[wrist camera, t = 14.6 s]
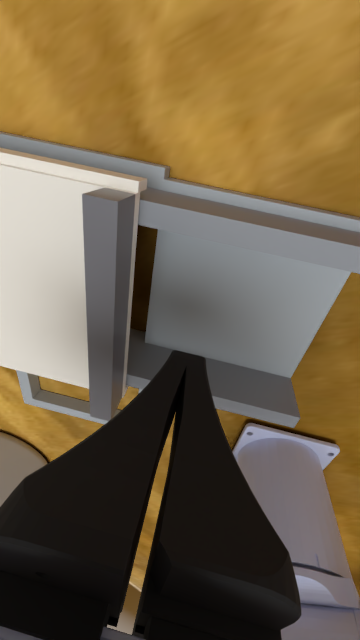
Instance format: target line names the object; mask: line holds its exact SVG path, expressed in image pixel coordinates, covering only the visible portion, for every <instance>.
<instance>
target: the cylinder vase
mask: <svg viewBox="0 0 360 640" xmlns="http://www.w3.org/2000/svg"><path fill="white" fill-rule="evenodd" d="M46 464H48V463H47V461H46V460H45V459H44V457H43V456H42V455H41V454H40V453H39V452H38V451H36V450H35V449H34V448H32V447H31V446H30V445H28V444H27V443H25V442H23V441H21V440H19V439H17V438H15V437H13V436H11V435H8V434H5V433H2V432H0V507H1V505H2V504H3V503H4V501H5V500H6V499H7V498H8V497H9V495H10V494H11V493H12V492H13V490H14V489H15V488H16V487H17V486H18V485H19V483H20V482H21V481H22V480H23V479H24V478H25V477H26V476H28V475H30V474H31V473H33V472H35V471H36V470H38V469H40V468H41V467H43V466H45V465H46Z"/></svg>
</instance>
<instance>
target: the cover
mask: <svg viewBox="0 0 360 640" xmlns="http://www.w3.org/2000/svg"><path fill="white" fill-rule="evenodd" d="M146 189H147V178H142V177H137V176H132V175H128V174H123V173H118V172H113V171H109V170H104V169H99V168H95V167H90V166H85V165H80V164H76V163H71V162H66V161H61V160H57V159H52V158H47V157H42V156H38V155H33V154H28V153H23V152H19V151H14V150H9V149H5V148H0V366H3V367H7V368H11V369H14V370H18V371H22V372H26V373H30V374H34V375H38V376H42V377H46V378H49V379H53V380H57V381H61V382H65V383H69V384H73V385H77V386H81V387H84V388H88V389H89V396H90V416H91V417H94V418H98V419H102V420H106V421H110V420H111V419H112V418H113V416H114V413H115V411H116V409H117V407H118V405H119V403H120V400H121V398H122V397H124V395H125V393H126V391H127V388H128V386H127V385H126V374H127V361H128V348H129V335H130V321H131V308H132V295H133V281H134V268H135V255H136V242H137V228H138V215H139V202H140V192H141V191H144V190H146Z"/></svg>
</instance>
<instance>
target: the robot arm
mask: <svg viewBox="0 0 360 640" xmlns="http://www.w3.org/2000/svg"><path fill="white" fill-rule="evenodd" d="M175 412H176V415H175ZM174 415H175V423H174V430H173V438H172V445H171V453H170V460H169V467H168V473H167V478H166V482H165V487H164V492H163V496H162V501H161V505H160V510H159V515H158V519H157V524H156V528H155V533H154V537H153V542H152V546H151V551H150V556H149V560H148V565H147V569H146V574H145V578H144V583H143V587H142V592H141V597H140V601H139V605H138V610H137V614H136V619H135V623H134V628H133V633H132V635H130V634H127V633H123V632H120V631H117V630H114V629H111V628H107V624H108V625H111V626H115V627H117V623H118V619H119V615H120V613H121V612H122V609H123V605H124V601H125V596H126V592H127V588H128V584H129V580H130V576H131V572H132V568H133V563H134V559H135V555H136V551H137V547H138V543H139V539H140V535H141V531H142V527H143V522H144V518H145V514H146V510H147V506H148V502H149V498H150V494H151V490H152V486H153V482H154V478H155V474H156V470H157V467H158V463H159V460H160V457H161V454H162V451H163V448H164V445H165V442H166V439H167V436H168V433H169V430H170V427H171V424H172V421H173V418H174ZM339 452H340V449H339V446H338V445H336V444H332V443H329V442H325V441H321V440H317V439H313V438H309V437H305V436H301V435H297V434H293V433H289V432H285V431H282V430H278V429H274V428H270V427H266V426H262V425H258V424H254V423H248V424H246V425H245V427H244V429H243V431H242V433H241V435H240V437H239V439H238V441H237V443H236V445H235V447H234V449H233V451H232V450H231V448H230V446H229V443H228V441H227V439H226V436H225V434H224V431H223V429H222V426H221V423H220V420H219V417H218V414H217V411H216V408H215V405H214V401H213V397H212V394H211V390H210V386H209V381H208V376H207V369H206V359H205V358H204V357H203V356H199V355H194V354H190V353H186V352H182V351H178V350H174V351H172V352H171V354H170V356H169V358H168V359H167V361H166V362H165V364H164V365H163V366H162V368H161V369H160V370H159V372H158V373H157V374H156V375H155V376H154V378H153V379H152V380H151V381H150V382H149V384H148V385H147V386H146V387H145V388H144V389H143V390H142V391H141V392H140V393H139V394H138V395H137V396H136V397H135V398H134V399H133V400H132V401H131V402H130V403H129V404H128V405H127V406H126V407H125V408H124V409H123V410H121V411H120V412H119V413H118V414H117V415H116V416H115V417H113V418H112V419H111V420H110V421H108V422H107V423H106V424H105V425H103V426H102V427H101V428H100V429H98V430H97V431H96V432H94V433H93V434H92V435H90V436H89V437H87V438H86V439H85V440H83V441H82V442H80V443H79V444H77V445H76V446H74V447H73V448H72V449H70V450H69V451H67V452H66V453H64V454H63V455H61V456H60V457H58V458H56V459H55V460H53V461H51V462H50V463H48V464H46V465H45V466H43V467H41V468H40V469H38V470H36V471H35V472H33V473H31V474H30V475H28V476H26V477H25V478H24V479H23V480H22V481H21V482H20V483H19V485H18V486H17V487H16V488H15V489H14V490H13V492H12V493H11V494H10V495H9V497H8V498H7V499H6V500H5V501H4V503H3V504H2V505H1V507H0V640H360V598H359V595H358V593H357V590H356V587H355V584H354V582H353V580H352V576H351V572H350V569H349V565H348V561H347V558H346V554H345V550H344V547H343V543H342V540H341V536H340V532H339V529H338V525H337V521H336V518H335V514H334V510H333V507H332V503H331V500H330V496H329V492H328V489H327V485H326V481H325V478H324V474H323V470H324V468H325V467H326V466H327V465H328V464H329V463H330V462H331V461H332V460H333V459H334V458H335V457H336V455H337V454H338V453H339Z"/></svg>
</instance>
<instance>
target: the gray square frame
mask: <svg viewBox="0 0 360 640" xmlns="http://www.w3.org/2000/svg"><path fill="white" fill-rule="evenodd" d="M0 148H5V149H9V150H14V151H19V152H23V153H28V154H33V155H38V156H42V157H47V158H52V159H57V160H61V161H66V162H71V163H76V164H80V165H85V166H90V167H95V168H99V169H104V170H109V171H113V172H118V173H123V174H128V175H132V176H137V177H142V178H147V189H146V190H144V191H141V192H140V202H139V215H138V225H141V226H145V227H150V228H155V229H158V233H157V242H156V250H155V259H154V267H153V276H152V284H151V293H150V301H149V310H148V318H147V327H146V332H143V331H139V330H135V329H131V328H130V335H129V348H128V361H127V374H126V385H127V386H131V387H134V388H138V389H139V393H140V392H141V391H142V390H143V389H144V388H145V387H146V386H147V385H148V384H149V382H150V381H151V380H152V379H153V378H154V376H155V375H156V374H157V373H158V372H159V370H160V369H161V368H162V366H163V365H164V364H165V362H166V361H167V359H168V358H169V356H170V354H171V352H172V351H174V350H178V351H182V352H186V353H190V354H194V355H199V356H203V357H204V358H205V359H206V369H207V376H208V381H209V386H210V390H211V394H212V397H213V401H214V405H215V408H217V409H221V410H225V411H229V412H233V413H237V414H241V415H245V416H248V417H252V418H256V419H260V420H264V421H268V422H272V423H276V424H280V425H284V426H288V427H292V428H294V427H295V425H296V424H297V422H298V421H299V419H300V414H299V410H298V406H297V402H296V398H295V394H294V390H293V386H292V382H291V377H292V375H293V373H294V371H295V370H296V368H297V366H298V364H299V362H300V361H301V359H302V357H303V355H304V354H305V352H306V350H307V348H308V347H309V345H310V343H311V341H312V340H313V338H314V336H315V334H316V333H317V331H318V329H319V327H320V326H321V324H322V322H323V320H324V319H325V317H326V315H327V313H328V312H329V310H330V308H331V306H332V305H333V303H334V301H335V299H336V298H337V296H338V294H339V292H340V291H341V289H342V287H343V285H344V284H345V282H346V280H347V278H348V277H349V275H350V273H351V272H354V273H358V274H360V217H355V216H350V215H346V214H341V213H336V212H331V211H327V210H322V209H317V208H312V207H307V206H303V205H298V204H293V203H288V202H284V201H279V200H274V199H269V198H265V197H260V196H255V195H250V194H246V193H241V192H236V191H231V190H227V189H222V188H217V187H212V186H207V185H203V184H198V183H193V182H188V181H184V180H179V179H174V178H169V172H170V167H169V166H164V165H159V164H155V163H150V162H145V161H140V160H135V159H131V158H126V157H121V156H116V155H111V154H107V153H102V152H97V151H92V150H87V149H82V148H78V147H73V146H68V145H63V144H58V143H54V142H49V141H44V140H39V139H34V138H29V137H25V136H20V135H15V134H10V133H5V132H1V131H0ZM16 371H17V375H18V379H19V383H20V387H21V391H22V395H23V399H24V403H26V404H30V405H33V406H37V407H41V408H45V409H49V410H52V411H56V412H60V413H64V414H68V415H71V416H75V417H79V418H83V419H87V420H90V421H94V422H98V423H102V424H106V423H107V422H108V421H106V420H102V419H98V418H94V417H91V416H90V402H87V401H83V400H79V399H75V398H71V397H68V396H64V395H60V394H56V393H52V392H48V391H45V390H41V389H40V384H39V379H38V375H34V374H30V373H26V372H22V371H18V370H16ZM120 411H121V410H118V409H116V411H115V413H114V416H113V417H115V416H116V415H117V414H118V413H119V412H120Z"/></svg>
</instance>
